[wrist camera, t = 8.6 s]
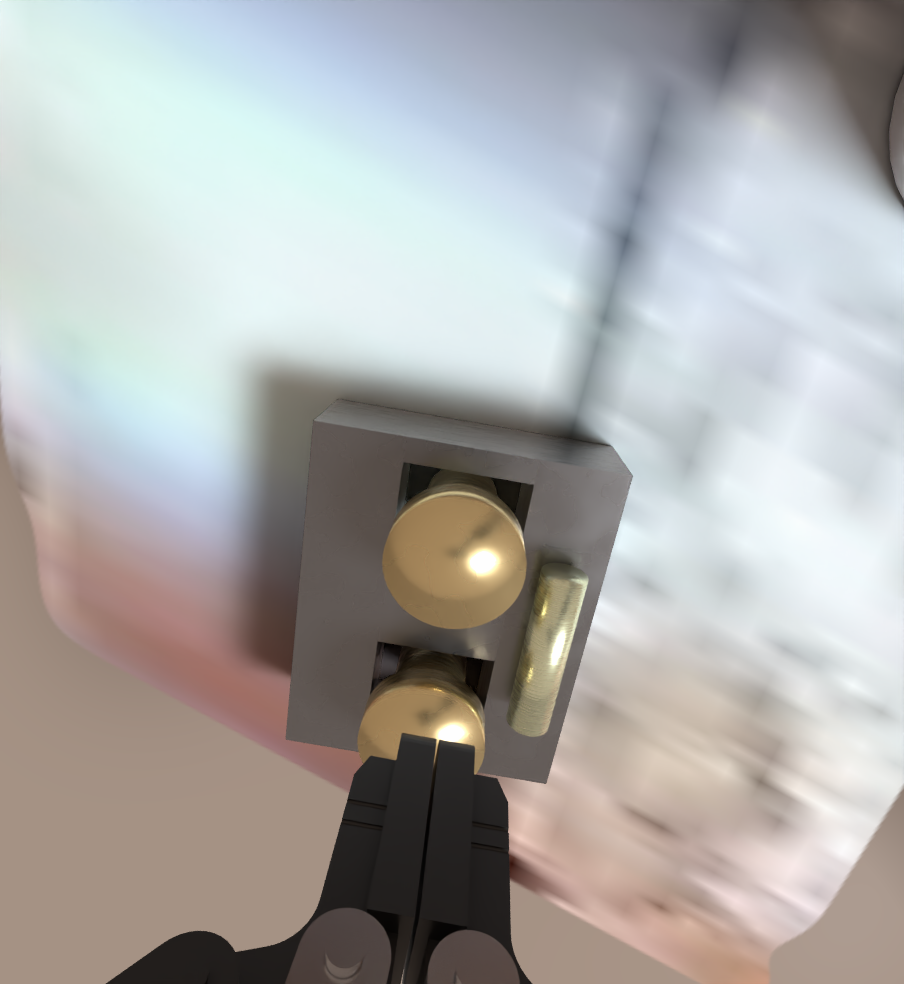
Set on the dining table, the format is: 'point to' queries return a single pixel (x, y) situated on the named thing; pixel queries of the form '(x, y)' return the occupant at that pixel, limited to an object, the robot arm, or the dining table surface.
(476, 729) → the brass knob
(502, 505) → the brass knob
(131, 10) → the dining table surface
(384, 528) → the level base plate
